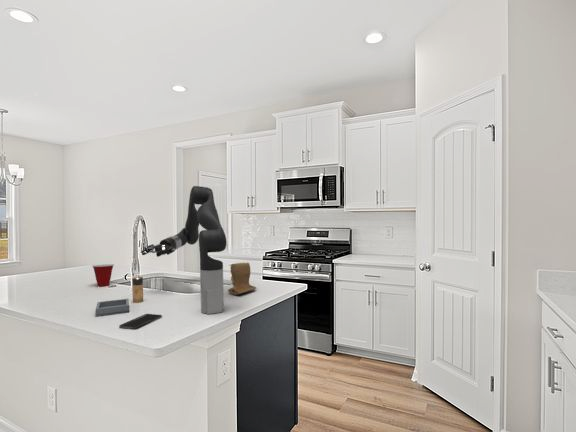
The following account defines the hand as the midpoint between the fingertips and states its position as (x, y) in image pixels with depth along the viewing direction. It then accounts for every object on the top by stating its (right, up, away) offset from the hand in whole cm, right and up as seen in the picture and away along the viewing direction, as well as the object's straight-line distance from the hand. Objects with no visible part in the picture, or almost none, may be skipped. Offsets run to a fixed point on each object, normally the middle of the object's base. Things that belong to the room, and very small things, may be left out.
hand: (149, 253), depth 166 cm
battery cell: (-3, -21, -7) cm, 22 cm away
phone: (+12, -22, -36) cm, 44 cm away
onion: (+38, -20, +28) cm, 52 cm away
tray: (-7, -21, -21) cm, 31 cm away
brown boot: (+42, -20, +8) cm, 48 cm away
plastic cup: (-37, -21, +29) cm, 52 cm away
